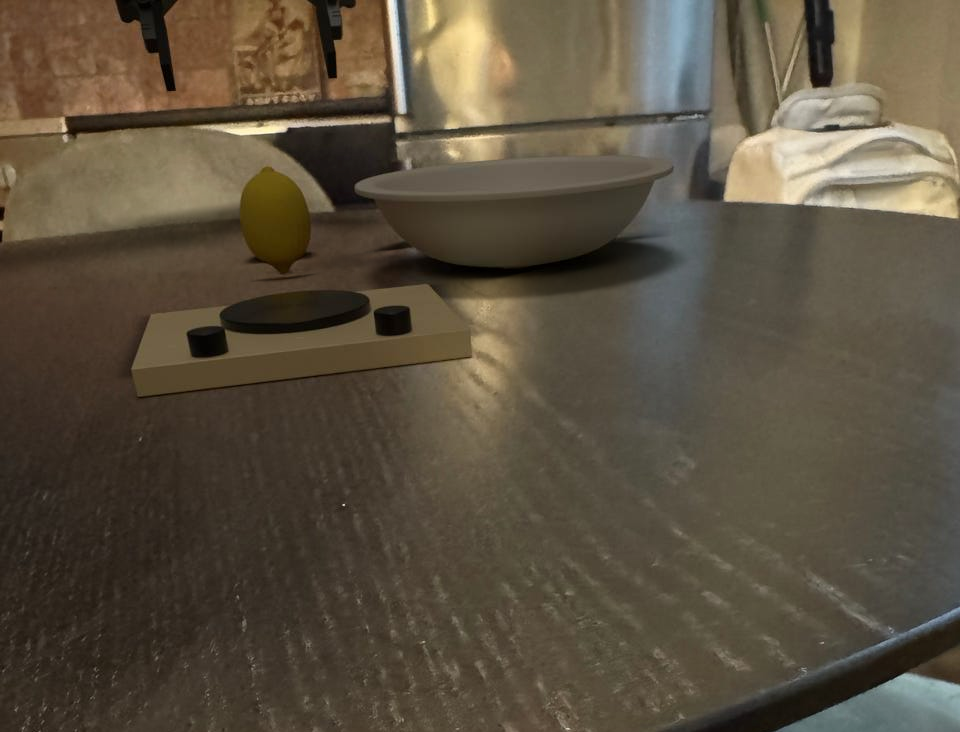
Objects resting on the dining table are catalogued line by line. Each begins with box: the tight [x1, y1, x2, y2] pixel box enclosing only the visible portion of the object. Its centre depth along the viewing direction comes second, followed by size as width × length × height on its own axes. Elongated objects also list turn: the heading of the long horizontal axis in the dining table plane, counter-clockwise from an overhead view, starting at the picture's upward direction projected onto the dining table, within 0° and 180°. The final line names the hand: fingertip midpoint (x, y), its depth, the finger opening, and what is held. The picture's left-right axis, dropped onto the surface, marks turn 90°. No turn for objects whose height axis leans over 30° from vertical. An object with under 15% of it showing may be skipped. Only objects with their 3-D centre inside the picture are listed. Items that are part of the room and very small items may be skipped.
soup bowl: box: [354, 154, 675, 269], centre depth 76 cm, size 24×24×7 cm
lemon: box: [239, 165, 312, 274], centre depth 79 cm, size 6×6×8 cm
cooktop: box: [130, 283, 473, 398], centre depth 58 cm, size 14×18×3 cm
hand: (251, 72), depth 83 cm, fingers open, 13 cm apart
